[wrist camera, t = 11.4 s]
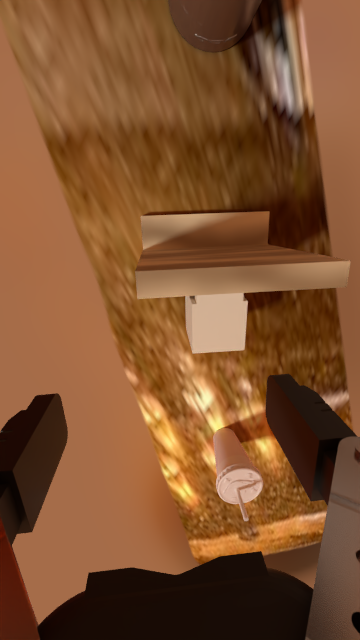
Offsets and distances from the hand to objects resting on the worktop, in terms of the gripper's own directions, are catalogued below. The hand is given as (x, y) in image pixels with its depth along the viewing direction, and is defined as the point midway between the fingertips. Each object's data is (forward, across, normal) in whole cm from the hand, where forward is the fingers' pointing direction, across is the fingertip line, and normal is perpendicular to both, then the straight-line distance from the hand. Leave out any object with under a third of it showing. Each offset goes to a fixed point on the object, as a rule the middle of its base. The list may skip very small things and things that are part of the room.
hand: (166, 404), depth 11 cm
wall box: (+27, -6, +4) cm, 28 cm away
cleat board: (+29, -6, -2) cm, 30 cm away
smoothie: (+29, -9, +28) cm, 41 cm away
